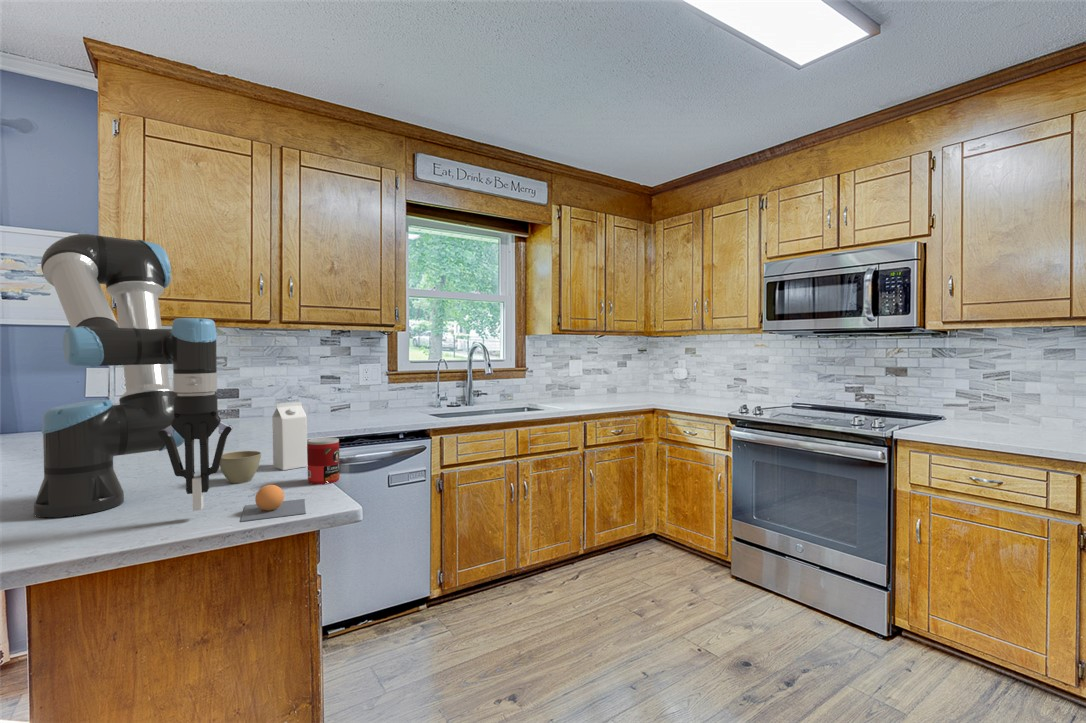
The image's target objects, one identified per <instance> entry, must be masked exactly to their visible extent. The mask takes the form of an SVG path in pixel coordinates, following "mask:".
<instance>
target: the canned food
mask: <svg viewBox="0 0 1086 723" xmlns="http://www.w3.org/2000/svg"><path fill="white" fill-rule="evenodd" d="M307 465H308V466H307V481H308V483H309V484H310V483H312V484H311V485H316V484H322V485H326V484H325V483H327V482H326V481H328V482H329V483H330V484H335V483H336V482H337V483H338V481H339V480H340V473H341V472H340V439H339V438H337V437H331V436H328V437H327V436H326V437H324V436H323V437H315V438H311V439H307Z"/></svg>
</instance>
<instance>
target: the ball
mask: <svg viewBox="0 0 1086 723" xmlns="http://www.w3.org/2000/svg"><path fill="white" fill-rule="evenodd" d="M284 498H285V495H284V491H283V489H282V488H281V487H279V486H278V485H275V484H267V485H264V486H262V487H261V488H260V489H258V490H257V492H256V495H255V497H254V499H255V504H257V506H258V507H259V508H260V509H262V510H264V511H272V510H275V509H277V508H278V507H279V506H280V505H281V504H282V502H283V501H285V500H284Z"/></svg>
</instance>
